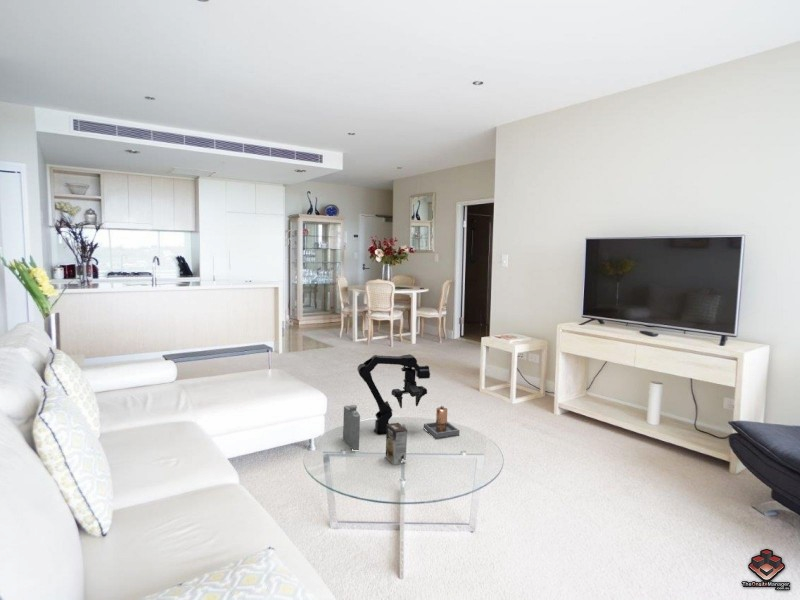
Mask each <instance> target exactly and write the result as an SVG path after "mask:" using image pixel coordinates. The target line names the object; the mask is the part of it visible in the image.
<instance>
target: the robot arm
mask: <svg viewBox="0 0 800 600" xmlns="http://www.w3.org/2000/svg"><path fill="white" fill-rule="evenodd" d="M378 365H398V366H403V367H401V368H400V370H401V371H402V372H404V379H403V383H404V385H403V387H402V388H403V390H402V389H399V388H394V389H391V392H390V393H391V396H393V397H394V398H395V399H396V400H397V403H398V405H399V408H400V409H402V408H403V398H404V397H403V395H405V394H406V395H407V394H409V395H410V397H412V398H415V406H416V407H418V406H419V403H420V400H421V399H422V397H424V396H425V395H427V394H428V389H427V388H426V387H425V386H423V385H420V386H418V385H417V381H416V378H417V379H419V380H421V379H422V380H423V379H424V380H425V379H427V380H428V379H430V377H431V372H430V371H431V370H430V366H428V365H419V364H418V360H417V358H416V357H415V356H414V355H413V354H411V353H410V354H403V355H400V356H396V355H378V354H374V355H373V356H371V357H370V358H369V359H366V360H365V361H364V362H363V363H359V365H357V369H356V370H357V373H358V374H359V376H360V378H362V380H363V381H364V382H365V383H366V385H367V387H368V389H369V390H370V393H371V394H372V396H373V398H374V400H375V403H376V404H377V407H378V411H377V412H376V413H375V418H376V420H375V423H374V425H375V426H374V428H373V431H374V433H376V434H377V435H384V434H385V435H386V431H387V424H390V422H389V421H390V419H392V417H393V409H392V407H391V405H390V403H389V401H388V400H386V401H385V400H384V399H383V397H382V395H381V393H380V391H379V390H378V388H377V385H376V383H375V382H374V380H373V377H372V373H371V372H372V371H373V370H374V369H375V368H376V366H378Z"/></svg>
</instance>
